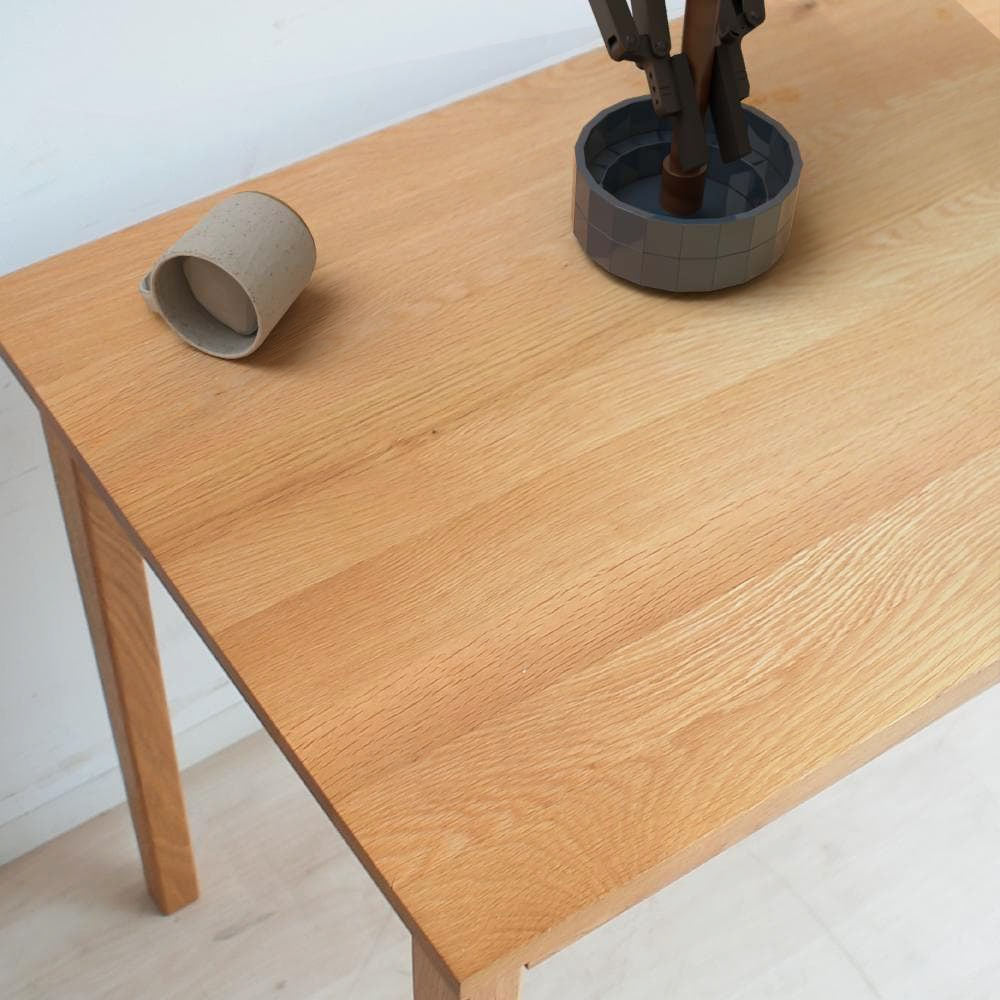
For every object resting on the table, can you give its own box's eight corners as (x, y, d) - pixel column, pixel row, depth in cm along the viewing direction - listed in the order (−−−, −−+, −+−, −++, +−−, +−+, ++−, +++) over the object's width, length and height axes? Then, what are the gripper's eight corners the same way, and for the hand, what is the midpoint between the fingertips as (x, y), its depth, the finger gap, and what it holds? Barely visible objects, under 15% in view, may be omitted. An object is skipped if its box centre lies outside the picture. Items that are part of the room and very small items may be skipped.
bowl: (729, 150, 101) (739, 74, 97) (826, 272, 92) (843, 195, 88) (540, 192, 98) (542, 115, 94) (622, 322, 89) (628, 245, 85)
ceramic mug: (330, 290, 91) (317, 189, 85) (270, 373, 86) (251, 272, 80) (184, 254, 94) (161, 153, 88) (117, 332, 89) (88, 231, 83)
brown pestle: (691, 185, 95) (718, -46, 83) (709, 210, 93) (739, -23, 81) (652, 194, 94) (673, -37, 82) (670, 219, 92) (694, -14, 80)
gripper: (715, -222, 90) (801, 150, 92) (488, -186, 87) (582, 200, 89) (766, -283, 83) (858, 123, 85) (520, -246, 79) (622, 177, 81)
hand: (717, 162), depth 87 cm, fingers closed on brown pestle, 2 cm apart
